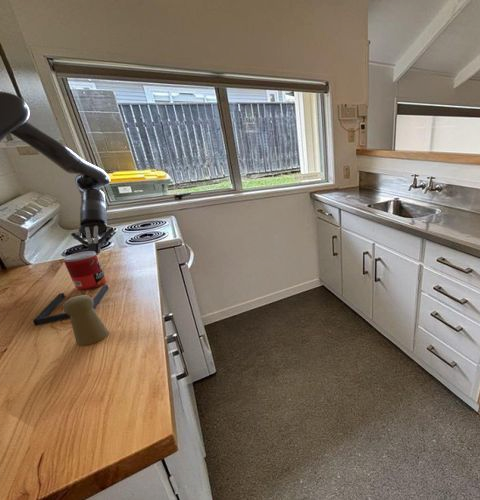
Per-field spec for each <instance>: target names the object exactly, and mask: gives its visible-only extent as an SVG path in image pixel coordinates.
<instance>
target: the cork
mask: <svg viewBox="0 0 480 500" xmlns="http://www.w3.org/2000/svg"><path fill="white" fill-rule="evenodd" d="M93 299H94V298H92V297H90V296H89V295H87V294H86V295H77V296H74V297H71V298H69V299H67V300H66V301H64V303H63V304H62V310H63V313H66V314H68V315H70V318H69V319H70V323H71V327H72V331H73V335H74V339H75V344H76V346H78V347H86V346H91V345H94V344H96V343H98V342H100V341H102V340H104V339H105V338H106V337H107V336H108V335H110V334H109V333H110V332H109V330H108V328H107V327H106V326H105V324H104V322H103V321H102V319H101V318H100V316H99V314H98V313H97V311H96V310H94V309H93V306H94V301H93Z"/></svg>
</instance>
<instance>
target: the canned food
mask: <svg viewBox="0 0 480 500" xmlns="http://www.w3.org/2000/svg"><path fill="white" fill-rule="evenodd" d="M63 263H64V265H65V267H66V269H67V272H68V274H69V276H70V278H71V281H72V282H73V285H74V287H75V288H76V290H77V291H88V290H93V289H96V288H99V287H102V286H103V285H105V284H106V282H107V278H106V276H105V273H104V271H103V270H104V269H103V268H102V265H101V262H100V260H99V258H98V255H96V253H95V252H94V251H89V250H85V251H79V252H75V253H72V254H69V255H66V256H64V257H63Z"/></svg>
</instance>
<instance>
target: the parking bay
mask: <svg viewBox="0 0 480 500" xmlns="http://www.w3.org/2000/svg"><path fill="white" fill-rule="evenodd" d="M109 289H110V288H109V286H108V284H103V285H102V286H101V288H100V289H99V291H98V292H97V293H96V294H95V296H94V298H92V299H93V301H94V306H93V309H94V310H95V309H96V308H97V307H98V305H99V303H100V302H101V301H102V299H103V298H104V296H105V295H106V293H107V292H108V290H109ZM65 298H66V295H65V293H64V292H61V293H58V295H56V296H55V297H54V298H53V299H52V300H51V301H50V302H49V304H48V305H46V307H44V309H43V310H41V312H39V314H38V315H36V317H35V318H34V319H32V323H33V325H34V326H39V325H45V324H48V323H53V322H57V321H62V320H66V319H67V320H68V319H70V315H68V314H66V313H65V312H61V313H56V314H52V315H50V314H51V313H52V312H53V311H54V310H55V309H56V308H57V307H58V306H59V305H60V303H61V302H63V300H64V299H65ZM95 311H96V310H95Z"/></svg>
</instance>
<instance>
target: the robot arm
mask: <svg viewBox="0 0 480 500" xmlns="http://www.w3.org/2000/svg"><path fill="white" fill-rule="evenodd" d="M28 119H30V107H29V106H28V104H27V103H26V101H25V100H24V99H22V98H21V97H20V96H18V95H16V94H14V93H10V92H7V91H1V90H0V142H1V141H2V140H3V139H5V138H6V137H7V136H9V135H10V134H11V135H13V136H14V137H16V138H18V140H21V141H22V142H23V143H25V144H27V145H28V146H30V147H31V148H33V149H34V150H35V151H37V152H38V153H40V154H41V155H43V156H44V157H46V158H47V159H48V160H50V161H51V162H52V163H53V164H54V165H56V166H57V167H59V168H60V169H62V170H63V171H65V172H66V173H68V174H72V175H76V176H75V178H74V182H75V185H76V187H77V189H78V192H79V194H80V207H79V225H80V226H79V228H78V230H77V231H76V232H72V233H71V234H70V236H72V237H73V238H74V239H75V240H76V241H78V242H80V244H82V245H83V246H84V247H88V251H94V252H95V253H96V255H97V256H99V254H100V253H101V246H102V245H106V244H107V243H108V242H109V241H110V240H111V239H112V238H113V237H114V236H115V235H116V233H117V232H116V231H115V229H114V228H113V227H109V226H108V212H107V211H108V210H107V206H106V194H105V193H104V191H102V190H101V188H104V187H107V186H109V185H110V183H111V178H110V176H109V175H108V173H107V172H106V171H105V170H104V169H102V168H100V167H98V166H96V165H94V164H92V163H91V162H88V161H87V160H84V159H83V158H81V157H80V156H79V155H78V154H77V153H75V152H74V150H71V148H69V147H67V145H65V144H63V143H62V142H60V141H59V140H57V139H55V138H54V137H52V136H50V135H48V134H46V133H45V132H44V131H42V130H40V129H39V128H38V127H36V126H35V125H34V124H32V123H30V122H29V121H28ZM83 236H84V237H85V238H86V239H87V240H85V239H83Z"/></svg>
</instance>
